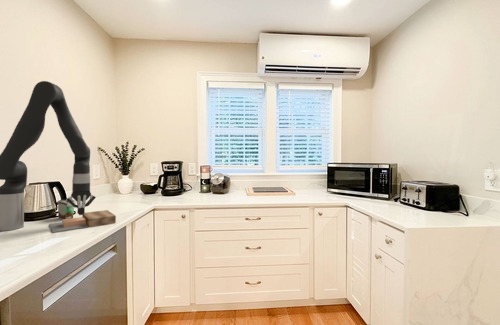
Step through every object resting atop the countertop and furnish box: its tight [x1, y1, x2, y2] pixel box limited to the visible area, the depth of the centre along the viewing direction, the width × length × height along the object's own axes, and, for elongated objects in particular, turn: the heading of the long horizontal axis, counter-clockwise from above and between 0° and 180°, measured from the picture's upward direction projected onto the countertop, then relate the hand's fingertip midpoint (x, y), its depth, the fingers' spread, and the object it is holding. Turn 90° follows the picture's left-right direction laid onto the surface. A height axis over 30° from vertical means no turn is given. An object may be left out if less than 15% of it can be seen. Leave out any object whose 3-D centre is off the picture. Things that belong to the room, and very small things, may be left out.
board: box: [81, 209, 117, 228], centre depth 126 cm, size 12×18×4 cm, turn 45°
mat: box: [48, 221, 89, 234], centre depth 117 cm, size 14×18×1 cm
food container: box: [57, 199, 77, 220], centre depth 132 cm, size 12×6×10 cm, turn 59°
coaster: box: [61, 216, 86, 227], centre depth 118 cm, size 9×7×2 cm
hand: (81, 214), depth 120 cm, fingers closed
